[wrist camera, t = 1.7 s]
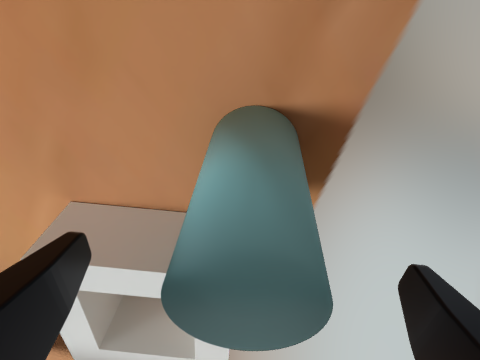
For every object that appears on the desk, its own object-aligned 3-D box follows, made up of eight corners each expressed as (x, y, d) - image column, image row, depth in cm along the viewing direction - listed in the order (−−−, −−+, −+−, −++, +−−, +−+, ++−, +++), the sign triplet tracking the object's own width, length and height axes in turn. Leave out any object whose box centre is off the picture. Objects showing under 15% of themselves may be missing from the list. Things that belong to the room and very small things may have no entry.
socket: (232, 315, 21) (227, 377, 18) (104, 302, 21) (74, 361, 18) (241, 217, 16) (235, 280, 13) (70, 201, 16) (20, 258, 13)
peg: (291, 187, 15) (313, 357, 8) (210, 179, 15) (167, 342, 8) (306, 109, 12) (354, 259, 6) (211, 101, 12) (152, 239, 6)
